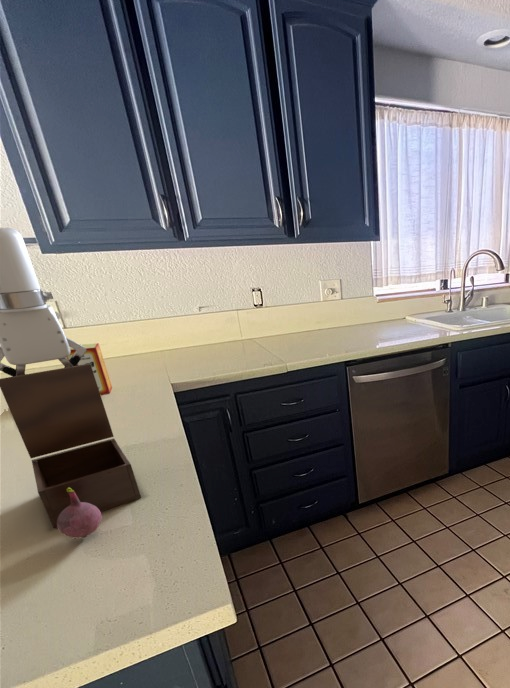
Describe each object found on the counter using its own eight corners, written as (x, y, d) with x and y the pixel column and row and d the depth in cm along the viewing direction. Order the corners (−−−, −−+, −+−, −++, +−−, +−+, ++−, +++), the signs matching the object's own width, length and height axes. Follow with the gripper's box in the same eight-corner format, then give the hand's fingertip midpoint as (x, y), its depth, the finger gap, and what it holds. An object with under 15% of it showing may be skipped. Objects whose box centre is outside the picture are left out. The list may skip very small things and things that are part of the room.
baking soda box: (112, 387, 149) (98, 342, 142) (109, 393, 144) (95, 346, 137) (80, 391, 146) (64, 345, 139) (77, 397, 140) (60, 349, 133)
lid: (90, 364, 85) (86, 358, 89) (-3, 380, 77) (-4, 373, 80) (113, 436, 93) (109, 429, 96) (30, 458, 84) (28, 449, 88)
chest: (141, 497, 86) (130, 464, 82) (53, 528, 77) (37, 492, 74) (124, 468, 97) (114, 438, 93) (45, 492, 88) (31, 459, 85)
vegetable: (115, 528, 77) (98, 480, 73) (88, 550, 72) (68, 501, 67) (86, 524, 78) (67, 478, 74) (57, 547, 73) (35, 498, 68)
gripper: (71, 294, 87) (98, 379, 94) (-43, 304, 77) (-2, 398, 84) (77, 298, 81) (105, 387, 89) (-44, 309, 71) (-1, 408, 79)
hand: (53, 391), depth 87 cm, fingers closed on lid, 6 cm apart
